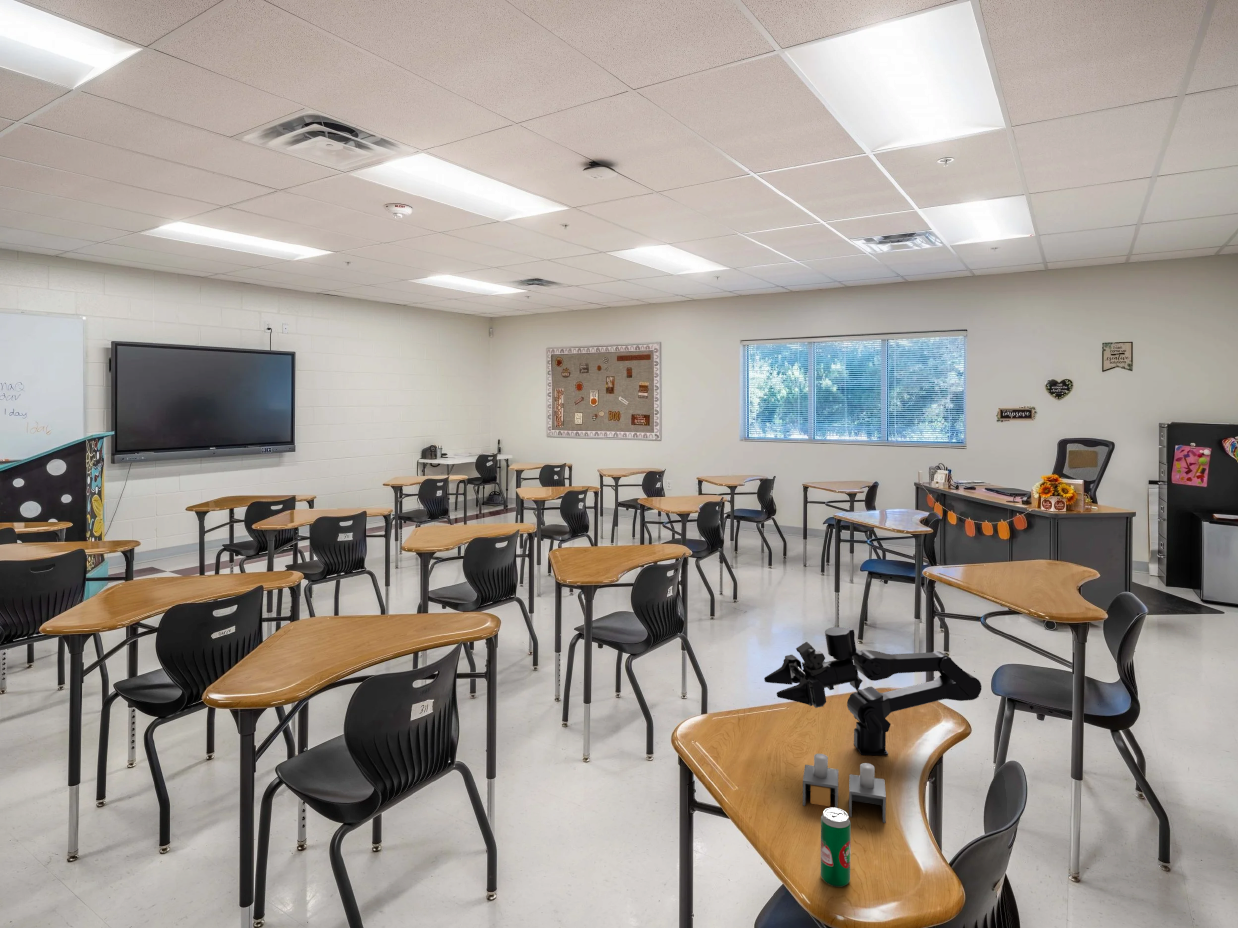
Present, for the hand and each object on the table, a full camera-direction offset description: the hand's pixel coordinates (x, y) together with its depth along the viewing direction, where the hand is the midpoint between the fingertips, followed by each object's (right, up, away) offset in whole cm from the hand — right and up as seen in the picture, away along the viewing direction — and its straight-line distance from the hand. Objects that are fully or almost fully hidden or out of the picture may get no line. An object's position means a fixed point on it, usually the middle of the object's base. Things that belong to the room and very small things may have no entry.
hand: (770, 687), depth 165 cm
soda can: (+2, -20, -43) cm, 48 cm away
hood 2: (+15, -18, -22) cm, 33 cm away
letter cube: (+7, -18, -18) cm, 27 cm away
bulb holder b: (+7, -18, -18) cm, 27 cm away
